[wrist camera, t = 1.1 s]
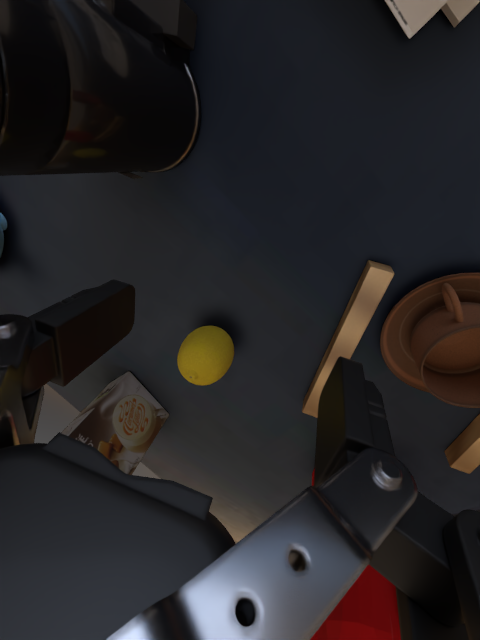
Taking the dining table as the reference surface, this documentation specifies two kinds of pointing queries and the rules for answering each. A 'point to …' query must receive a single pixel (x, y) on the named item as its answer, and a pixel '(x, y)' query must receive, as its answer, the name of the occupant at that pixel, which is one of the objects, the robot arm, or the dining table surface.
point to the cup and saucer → (437, 339)
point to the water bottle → (364, 610)
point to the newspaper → (428, 12)
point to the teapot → (1, 225)
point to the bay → (468, 447)
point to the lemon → (205, 355)
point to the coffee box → (120, 422)
